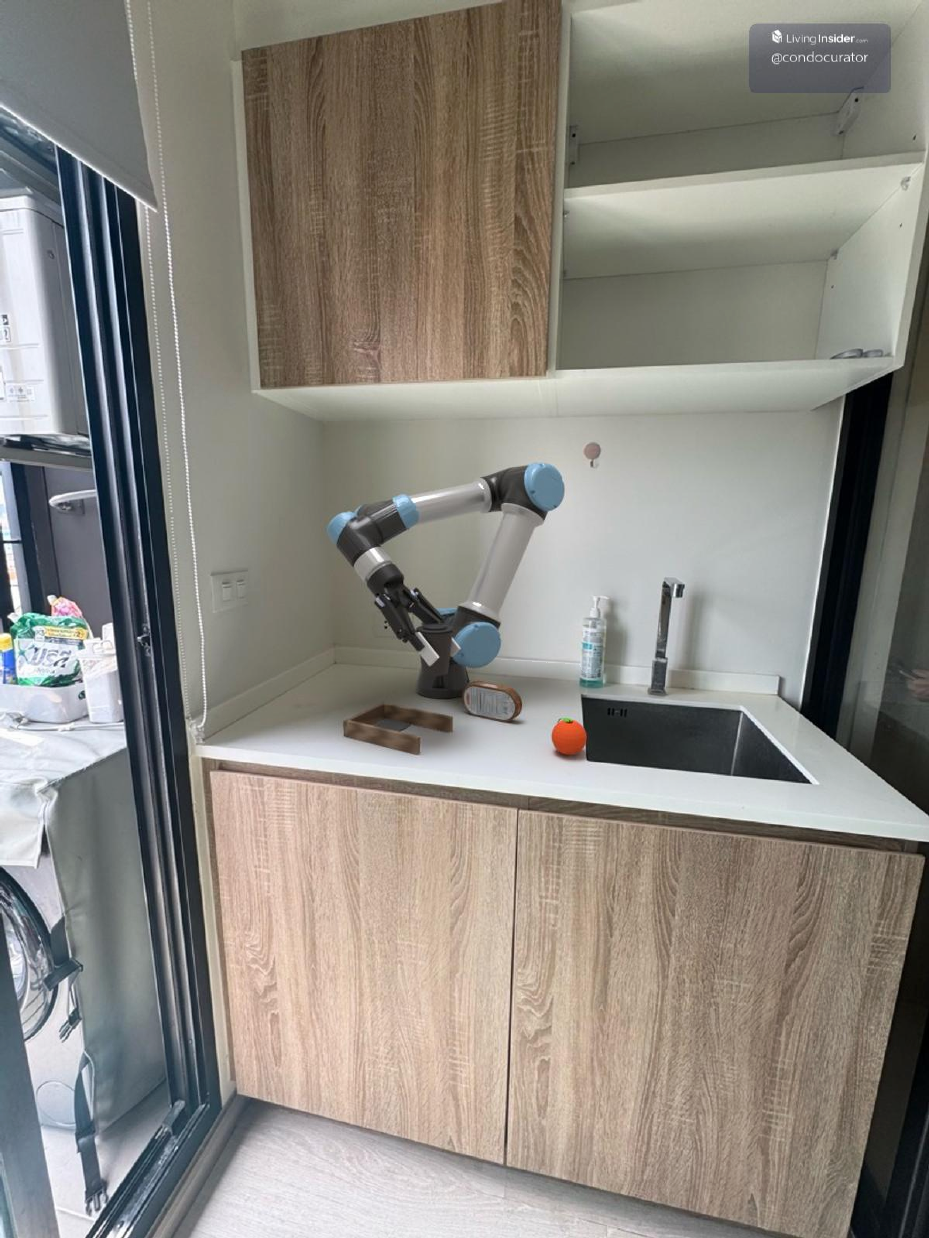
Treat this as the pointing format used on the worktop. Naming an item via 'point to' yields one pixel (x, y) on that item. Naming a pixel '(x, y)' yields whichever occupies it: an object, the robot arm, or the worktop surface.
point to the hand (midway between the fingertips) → (445, 656)
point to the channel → (366, 732)
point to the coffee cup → (437, 647)
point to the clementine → (568, 736)
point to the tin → (492, 701)
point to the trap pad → (393, 725)
